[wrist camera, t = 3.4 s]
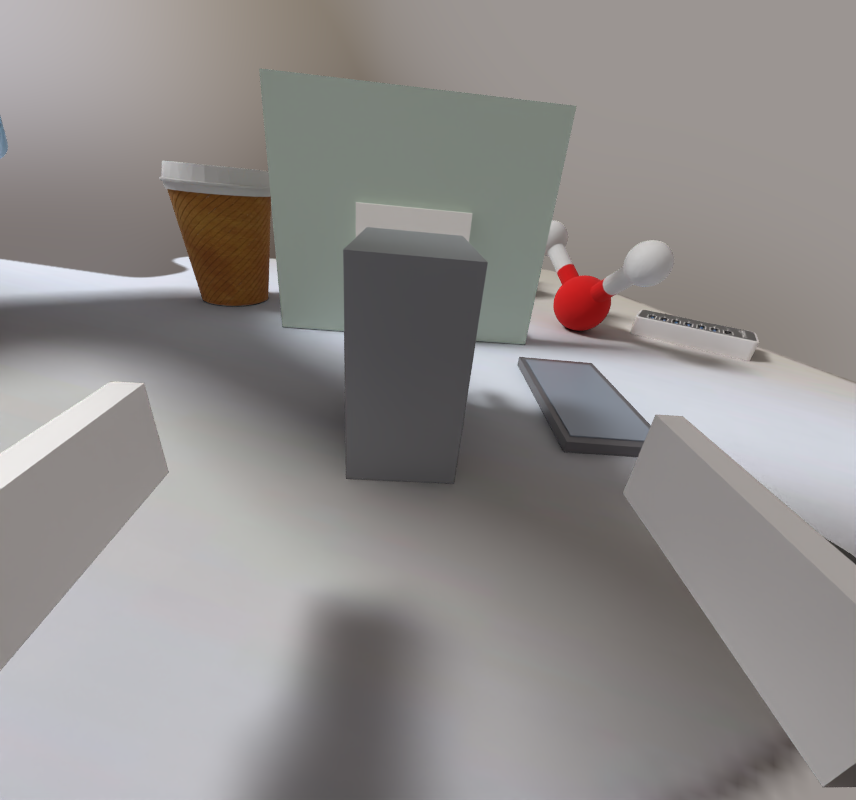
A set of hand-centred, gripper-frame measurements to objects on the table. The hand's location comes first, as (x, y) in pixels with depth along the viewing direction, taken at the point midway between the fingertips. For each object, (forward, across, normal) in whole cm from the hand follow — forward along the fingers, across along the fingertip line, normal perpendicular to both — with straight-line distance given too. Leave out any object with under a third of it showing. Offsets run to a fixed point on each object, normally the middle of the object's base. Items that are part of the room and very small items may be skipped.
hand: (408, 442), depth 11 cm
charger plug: (+10, 0, -6) cm, 11 cm away
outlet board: (+28, 0, -6) cm, 29 cm away
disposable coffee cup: (+34, -18, -6) cm, 39 cm away
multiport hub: (+30, +30, -7) cm, 43 cm away
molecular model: (+32, +18, -6) cm, 37 cm away
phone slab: (+15, +12, -7) cm, 20 cm away
